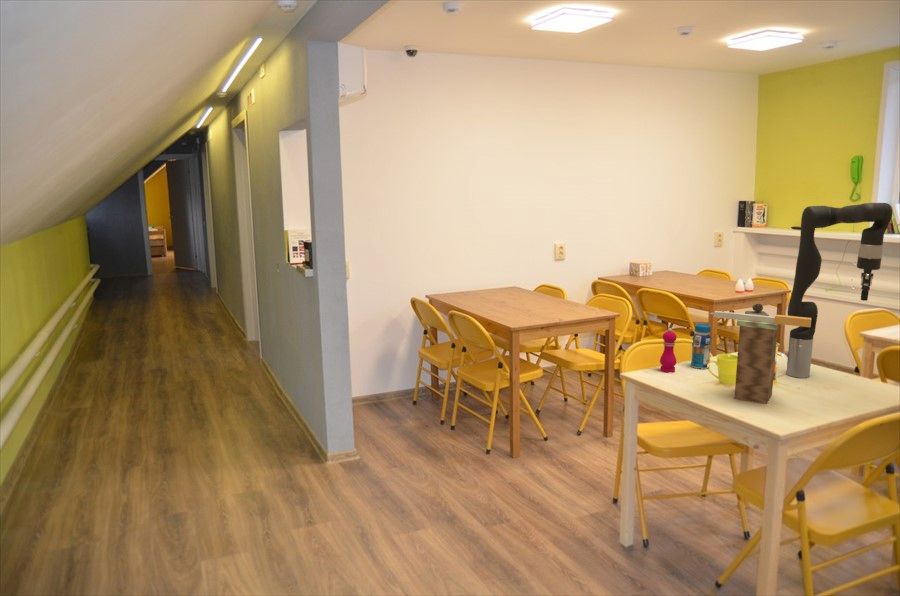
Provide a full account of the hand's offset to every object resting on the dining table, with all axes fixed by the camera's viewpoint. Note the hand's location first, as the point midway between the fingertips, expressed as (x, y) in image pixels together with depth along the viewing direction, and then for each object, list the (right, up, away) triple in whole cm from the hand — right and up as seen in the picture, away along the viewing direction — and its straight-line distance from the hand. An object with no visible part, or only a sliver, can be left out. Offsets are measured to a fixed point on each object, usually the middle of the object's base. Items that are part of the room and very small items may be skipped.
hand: (864, 298), depth 250 cm
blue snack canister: (-41, -32, +56) cm, 76 cm away
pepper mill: (-58, -33, +50) cm, 84 cm away
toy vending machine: (-12, -30, +65) cm, 73 cm away
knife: (-38, -9, +5) cm, 39 cm away
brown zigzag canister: (-36, -40, +14) cm, 55 cm away
